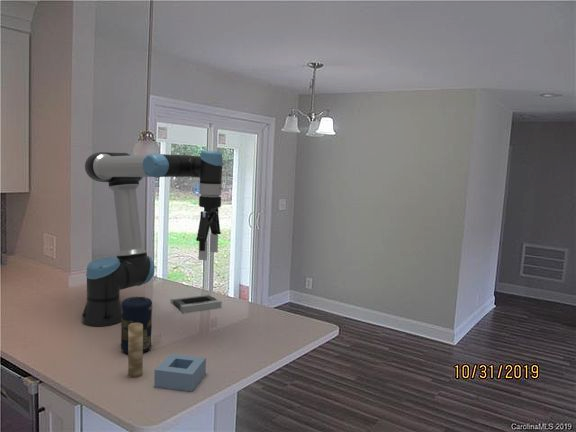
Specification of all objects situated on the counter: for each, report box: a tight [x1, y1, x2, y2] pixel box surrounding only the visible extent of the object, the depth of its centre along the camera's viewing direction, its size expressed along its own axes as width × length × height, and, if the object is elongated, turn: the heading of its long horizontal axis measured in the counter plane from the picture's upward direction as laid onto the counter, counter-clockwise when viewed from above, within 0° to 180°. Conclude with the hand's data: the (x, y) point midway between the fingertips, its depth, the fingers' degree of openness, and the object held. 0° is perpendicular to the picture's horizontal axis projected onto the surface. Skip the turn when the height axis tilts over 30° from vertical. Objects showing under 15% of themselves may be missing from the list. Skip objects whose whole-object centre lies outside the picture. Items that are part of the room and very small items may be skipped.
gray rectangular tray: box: [169, 294, 223, 314], centre depth 198 cm, size 17×5×16 cm
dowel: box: [127, 323, 144, 378], centre depth 133 cm, size 4×4×15 cm
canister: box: [120, 296, 153, 354], centre depth 149 cm, size 10×10×18 cm
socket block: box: [153, 353, 207, 393], centre depth 131 cm, size 11×11×5 cm
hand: (208, 255), depth 161 cm, fingers open, 13 cm apart
